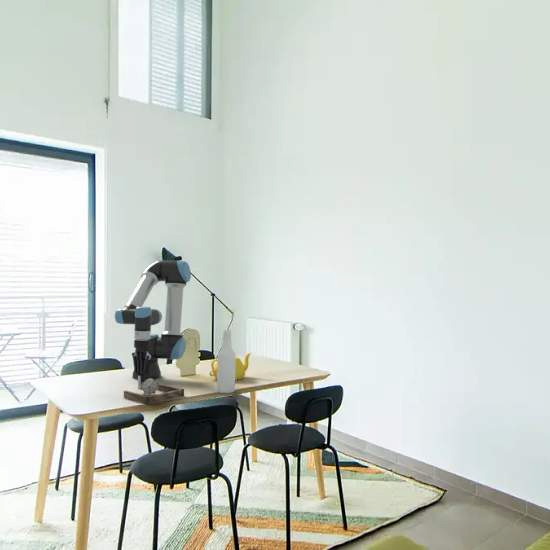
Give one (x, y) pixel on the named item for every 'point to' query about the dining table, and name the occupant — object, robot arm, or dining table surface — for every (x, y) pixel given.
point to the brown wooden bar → (169, 394)
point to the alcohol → (226, 365)
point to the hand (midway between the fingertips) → (140, 388)
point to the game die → (149, 386)
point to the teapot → (239, 367)
